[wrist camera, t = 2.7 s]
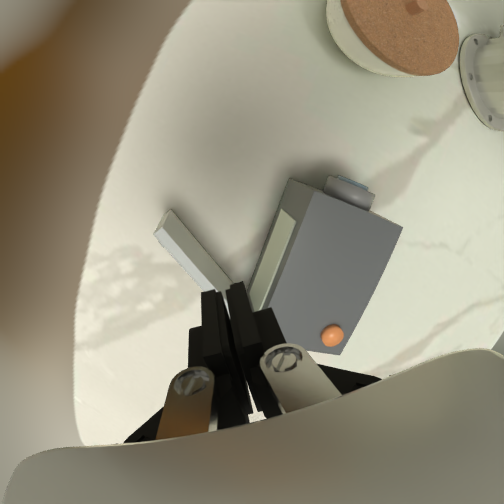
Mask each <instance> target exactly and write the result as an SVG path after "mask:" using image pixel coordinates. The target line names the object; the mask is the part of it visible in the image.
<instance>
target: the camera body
mask: <svg viewBox="0 0 504 504" xmlns="http://www.w3.org/2000/svg"><path fill="white" fill-rule="evenodd" d="M374 197H375V195H374V194H373V193H371V192H368V187H366V186H364V185H362V184H359V183H357V182H355V181H352V180H350V179H347V178H345V177H342V176H339V175H338V177H337V178H335V177H332V176H328V179H327V181H326V184H325V187H324V189H323V191H322V190H319V189H316V188H314V187H311V186H308V185H306V184H303V183H301V182H298V181H295V180H292V179H290V178H289V180H288V183H287V186H286V188H285V191H284V194H283V196H282V199H281V202H280V204H279V207H278V210H277V213H276V215H275V218H274V221H273V223H272V226H271V229H270V231H269V234H268V237H267V239H266V242H265V245H264V247H263V250H262V253H261V255H260V258H259V261H258V263H257V266H256V269H255V271H254V274H253V277H252V279H251V282H250V285H249V287H248V290H247V296H248V299H249V303H250V306H251V309H252V312H255V311H259V310H263V309H266V308H270V307H272V309H273V312H274V314H275V317H276V319H277V321H278V324H279V326H280V328H281V331H282V333H283V336H284V338H285V340H286V343H291V344H297V345H299V346H302V347H303V348H304V349H305V350H307V351H314V352H320V353H327V354H334V355H340V354H341V352H342V351H343V349H344V347H345V345H346V344H347V342H348V340H349V338H350V337H351V335H352V333H353V331H354V329H355V327H356V326H357V324H358V322H359V320H360V318H361V316H362V314H363V312H364V310H365V309H366V307H367V305H368V303H369V301H370V299H371V297H372V295H373V293H374V291H375V289H376V287H377V285H378V282H379V280H380V278H381V276H382V274H383V272H384V270H385V268H386V265H387V263H388V261H389V259H390V257H391V254H392V252H393V250H394V248H395V245H396V243H397V241H398V238H399V236H400V234H401V231H402V229H403V227H401V226H399V225H398V224H396V223H394V222H392V221H390V220H388V219H386V218H384V217H382V216H380V215H378V214H376V213H374V212H372V211H370V207H371V205H372V202H373V200H374Z"/></svg>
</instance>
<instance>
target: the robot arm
mask: <svg viewBox="0 0 504 504" xmlns="http://www.w3.org/2000/svg"><path fill="white" fill-rule="evenodd" d="M460 72H461V78H462V83H463V86H464V89H465V93H466V95H467V98H468V100H469V102H470V104H471V106H472V108H473V110H474V112H475V113H476V115H477V116H478V118H479V119H480V120H481V121H482V122H483V123H484V124H485V125H486V126H487V127H489V128H490V129H493V130H496V131H504V25H501V26H500V37H498V38H491V37H489V36H487V35H485V34H474V35H471V36H469V37H467V38H466V39H465V41H464V42H463V45H462V47H461V51H460ZM225 292H226V298H227V303H228V309H229V314H228V311H227V308H226V305H225V301H224V298H223V295H222V292H221V291H219V292H216V290H215V289H212V290H209V291H205V292H201V313H202V326H199V327H195V328H191V329H189V348H188V368H187V369H185V370H183V371H181V372H179V373H178V374H177V375H176V376H175V377H174V378H173V379H172V381H171V383H170V385H169V389H168V393H167V397H166V400H165V404H164V407H162V408H161V409H160V410H159V411H158V412H157V413H156V414H155V415H153V416H152V417H151V418H150V419H149V420H148V421H147V422H145V423H144V424H143V425H142V426H141V427H140V428H138V429H137V430H136V431H135V432H134V433H133V434H131V435H130V436H129V437H128V438H127V439H126V440H125V441H124V443H123V444H118V443H117V444H111V445H94V446H79V447H64V448H56V449H51V450H47V451H43V452H40V453H37V454H35V455H32V456H30V457H28V458H26V459H24V460H23V461H22V462H20V464H18V466H17V467H16V469H15V471H14V472H13V475H12V476H11V479H10V481H9V484H8V486H7V489H6V492H5V495H4V498H3V501H2V504H504V356H503V355H502V354H500V353H498V352H496V351H493V350H490V349H484V348H476V349H467V350H461V351H455V352H452V353H448V354H445V355H441V356H438V357H436V358H433V359H430V360H428V361H425V362H422V363H420V364H418V365H416V366H413V367H411V368H409V369H406V370H404V371H401V372H399V373H397V374H393V375H389V377H387V378H385V379H380V378H378V377H375V376H371V375H366V374H361V373H356V372H351V371H347V370H342V369H338V368H333V367H329V366H324V365H320V364H316V362H315V361H314V360H313V359H312V357H311V356H310V355H309V353H308V352H307V351H306V350H305V349H304V348H303V347H302V346H299V345H297V344H291V343H286V340H285V338H284V336H283V333H282V331H281V328H280V326H279V324H278V321H277V319H276V317H275V314H274V312H273V309H272V307H270V308H266V309H263V310H259V311H255V312H252V309H251V306H250V303H249V299H248V296H247V293H246V289H245V286H244V283H243V281H242V282H238V283H235V284H231V285H230V289H227V290H225ZM229 315H230V317H229ZM247 383H248V386H249V389H250V392H251V394H252V397H253V400H254V403H255V405H256V408H257V411H258V412H260V411H263V413H264V416H265V417H266V418H267V419H264V420H260V421H256V422H252V423H250V422H249V417H248V414H252V413H253V409H252V404H251V400H250V395H249V391H248V386H247Z"/></svg>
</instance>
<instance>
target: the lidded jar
mask: <svg viewBox="0 0 504 504" xmlns="http://www.w3.org/2000/svg"><path fill="white" fill-rule="evenodd" d="M326 18H327V24H328V27H329V31H330V33H331V35H332V37H333V39H334V41H335V42H336V44H337V45H338V47H339V48H340V49H341V50H342V52H343V53H344V54H345V55H346V56H347V57H348V58H349V59H351V60H352V61H353V62H355V63H356V64H357V65H359V66H361V67H363V68H364V69H367V70H369V71H371V72H374V73H377V74H380V75H384V76H392V77H413V76H428V75H434V74H438V73H441V72H443V71H445V70H446V69H447V68H448V67H450V65H451V64H452V63H453V61H454V59H455V57H456V55H457V51H458V46H459V34H458V27H457V23H456V20H455V17H454V14H453V12H452V10H451V8H450V6H449V4H448V2H447V0H328V1H327V6H326Z"/></svg>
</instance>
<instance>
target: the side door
mask: <svg viewBox="0 0 504 504" xmlns="http://www.w3.org/2000/svg"><path fill="white" fill-rule="evenodd" d="M153 235H154V236H155V237H156V238H157V239H158V242H159V243H160V244H161V245H162V246H163V248H165V249H166V250H167V251H168V252H169V253H170V254H171V256H172V257H173V258H174V259H175V260H176V261H177V262H178V264H179V265H180V266H181V267H182V268H183V269H184V270H185V271H186V272H187V274H188V275H189V276H190V277H191V278H192V279H193V280H194V281H195V282H196V284H197V285H198V286H199V287H200V288H201V289H202V290H203V291H204V292H205V291H209V290H212V289H215V290H216V292H219V291H221V292H222V295H223V298H224V301H225V305H226V308H227V311H228V314H229V309H228V303H227V298H226V292H225V290H227V289H230V285H231V284H233V282H232V281H231V280H230V279H229V278H228V277H227V275H226V274H225V273H224V272H223V271H222V270H221V268H220V267H219V266H218V265H217V264H216V263H215V261H214V260H213V259H212V258H211V257H210V256H209V254H208V253H207V252H206V251H205V250H204V248H203V247H202V246H201V245H200V244H199V242H198V241H197V240H196V239H195V238H194V236H193V235H192V234H191V233H190V232H189V230H188V229H187V228H186V227H185V226H184V224H183V223H182V222H181V221H180V220H179V218H178V217H177V216H176V215H175V214H174V212H173V211H172V210H169V211H168V212H167V213H166V214H164V215H163V217H162V219H161V221H160V223H159V225H158V227H157V228H156V230H155V232H154V234H153ZM229 317H230V315H229Z"/></svg>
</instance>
